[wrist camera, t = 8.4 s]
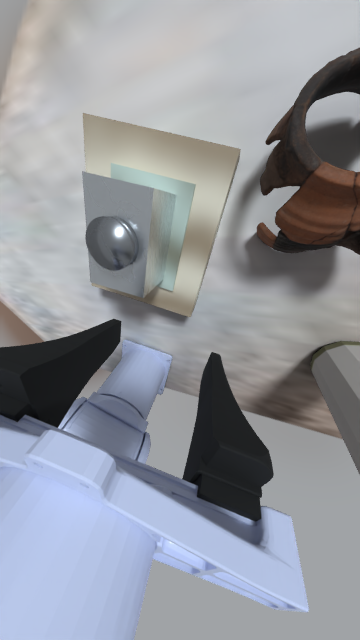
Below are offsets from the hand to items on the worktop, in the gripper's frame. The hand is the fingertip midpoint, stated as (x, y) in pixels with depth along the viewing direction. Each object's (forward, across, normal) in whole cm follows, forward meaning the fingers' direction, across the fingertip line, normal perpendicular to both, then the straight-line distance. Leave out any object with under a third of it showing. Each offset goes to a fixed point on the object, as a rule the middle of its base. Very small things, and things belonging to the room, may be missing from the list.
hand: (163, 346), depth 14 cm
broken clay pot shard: (+10, -8, -12) cm, 18 cm away
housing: (+7, +5, -6) cm, 10 cm away
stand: (+10, +5, -6) cm, 13 cm away
